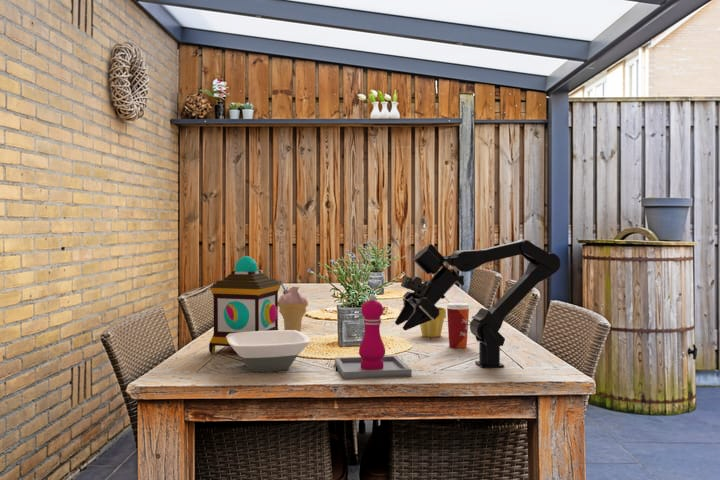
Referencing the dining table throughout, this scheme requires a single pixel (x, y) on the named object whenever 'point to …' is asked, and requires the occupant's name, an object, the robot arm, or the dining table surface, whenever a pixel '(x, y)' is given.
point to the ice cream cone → (292, 308)
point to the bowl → (268, 348)
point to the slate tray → (353, 370)
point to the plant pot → (434, 325)
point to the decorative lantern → (244, 302)
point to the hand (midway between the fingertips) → (399, 326)
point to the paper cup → (458, 324)
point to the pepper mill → (372, 336)
